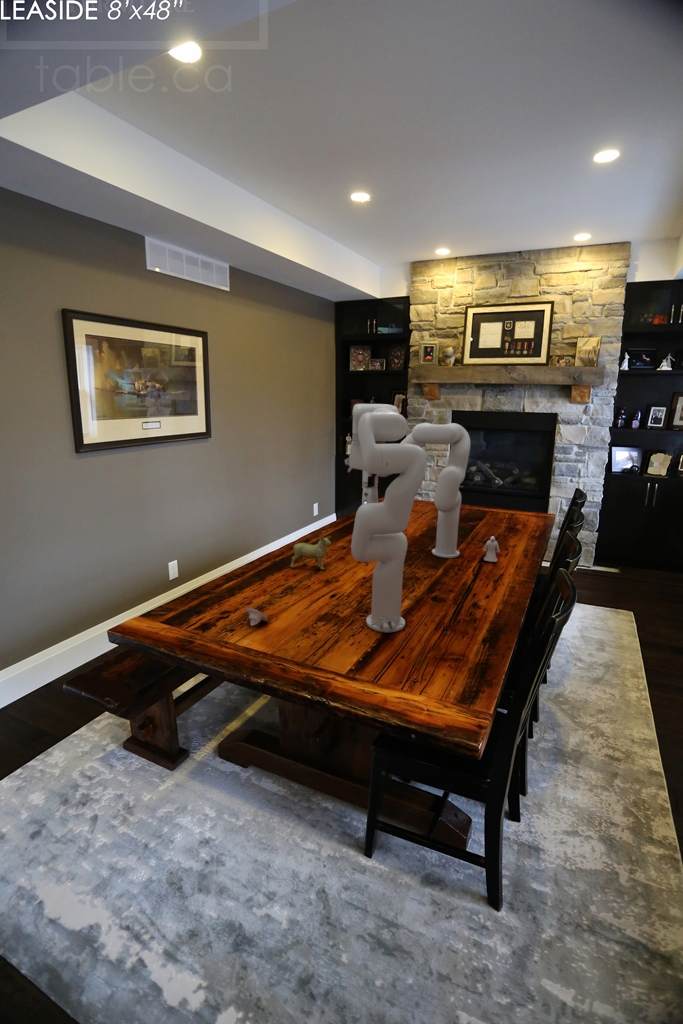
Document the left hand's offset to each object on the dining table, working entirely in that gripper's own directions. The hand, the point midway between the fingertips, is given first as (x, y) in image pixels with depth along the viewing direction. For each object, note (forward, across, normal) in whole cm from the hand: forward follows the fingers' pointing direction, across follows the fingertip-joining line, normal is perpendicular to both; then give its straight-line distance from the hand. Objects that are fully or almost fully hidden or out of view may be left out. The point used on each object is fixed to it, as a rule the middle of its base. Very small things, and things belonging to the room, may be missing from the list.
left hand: (361, 484), depth 186 cm
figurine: (+40, -20, -65) cm, 78 cm away
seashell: (+40, -1, +49) cm, 63 cm away
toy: (+40, +25, +2) cm, 47 cm away
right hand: (+29, +35, -43) cm, 62 cm away
